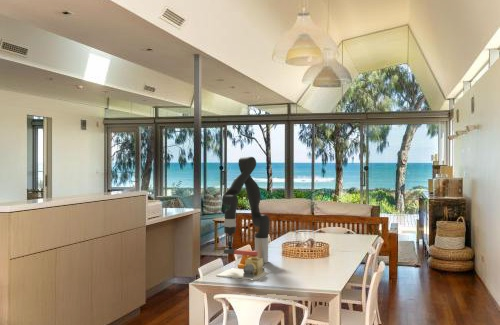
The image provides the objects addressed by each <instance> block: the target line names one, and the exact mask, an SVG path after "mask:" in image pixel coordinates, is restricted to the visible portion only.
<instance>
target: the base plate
mask: <svg viewBox="0 0 500 325" xmlns="http://www.w3.org/2000/svg"><path fill="white" fill-rule="evenodd" d="M243 273H244V271H243V269H241V268H238V267H237V268H236V267H235V268H233V267H231V268H228V269H226V270H224V271H222V272H220V273H218V274H216V277H217V276H222V277H221V278H227V277H232V278H231V279H238V278H242V279H241V280H248V279H253V280H252V281H258V280H259V279H261V278H262V277H264V276H266V275H268V274H269V273H270V271H267V270H264V271H263V273H262V274H260V275H258V276H254V277H253V278H250V277H243ZM265 274H266V275H265ZM260 277H261V278H260Z"/></svg>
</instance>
